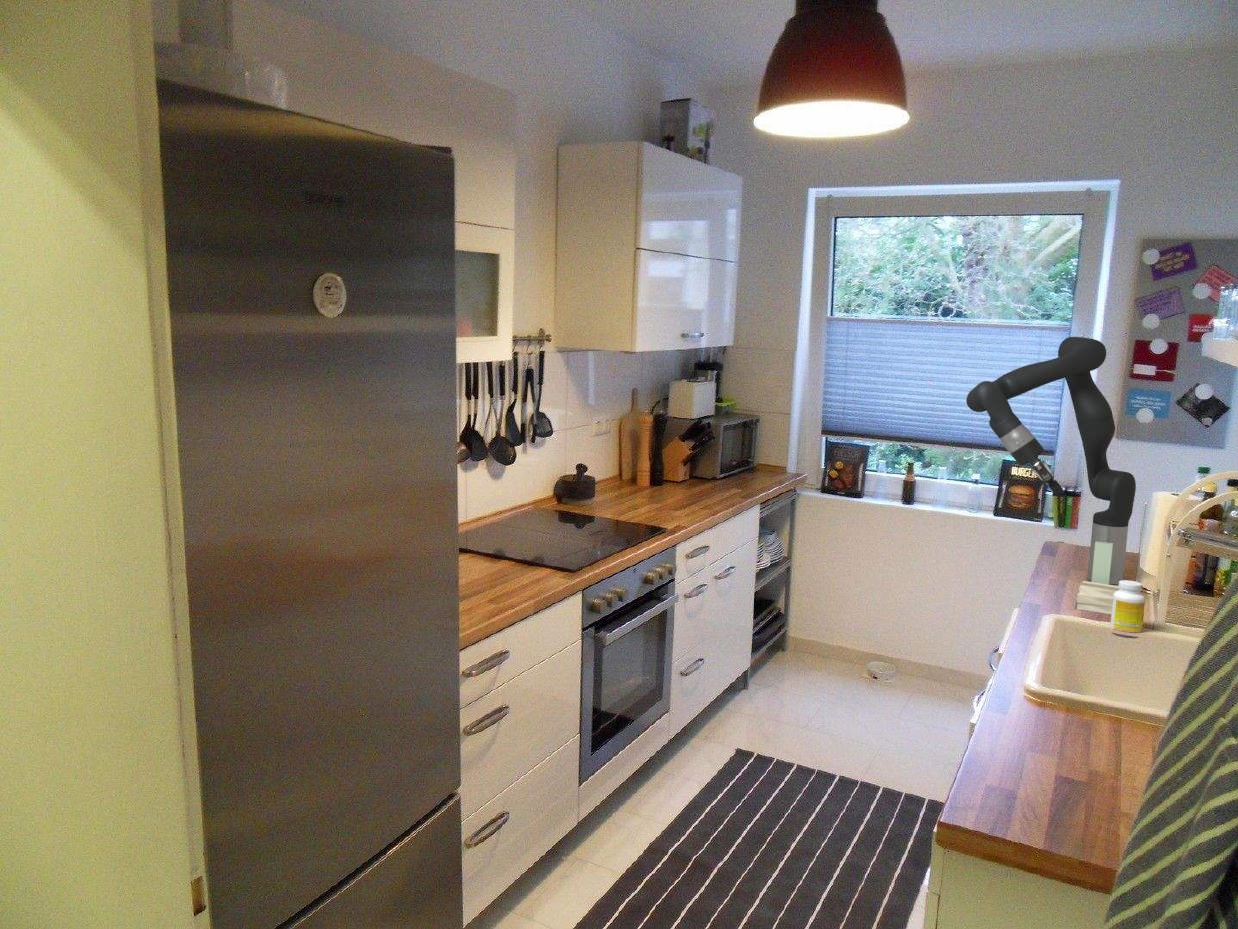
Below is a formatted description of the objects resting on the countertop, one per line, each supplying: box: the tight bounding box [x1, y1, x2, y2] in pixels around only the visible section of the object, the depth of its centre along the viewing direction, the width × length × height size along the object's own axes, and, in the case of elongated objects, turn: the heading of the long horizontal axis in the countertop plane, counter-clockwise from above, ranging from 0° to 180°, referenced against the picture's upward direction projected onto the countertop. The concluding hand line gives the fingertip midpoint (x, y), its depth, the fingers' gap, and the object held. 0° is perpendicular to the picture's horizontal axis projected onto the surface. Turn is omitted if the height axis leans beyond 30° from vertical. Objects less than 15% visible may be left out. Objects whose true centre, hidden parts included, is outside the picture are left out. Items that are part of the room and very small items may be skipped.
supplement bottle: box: [1109, 579, 1146, 639], centre depth 207 cm, size 7×7×13 cm
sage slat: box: [1091, 542, 1113, 585], centre depth 229 cm, size 2×4×16 cm, turn 58°
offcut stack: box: [1076, 580, 1120, 615], centre depth 224 cm, size 7×10×6 cm
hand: (1060, 493), depth 233 cm, fingers open, 8 cm apart
